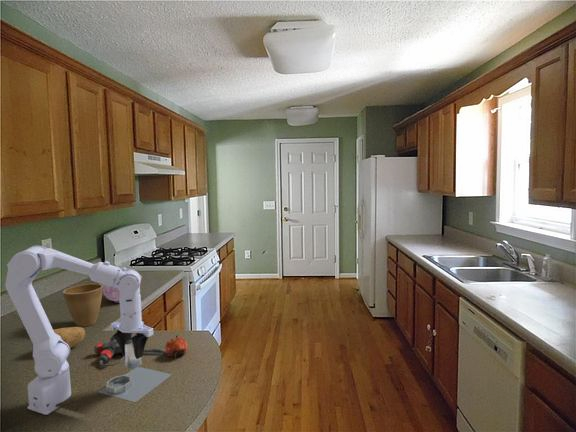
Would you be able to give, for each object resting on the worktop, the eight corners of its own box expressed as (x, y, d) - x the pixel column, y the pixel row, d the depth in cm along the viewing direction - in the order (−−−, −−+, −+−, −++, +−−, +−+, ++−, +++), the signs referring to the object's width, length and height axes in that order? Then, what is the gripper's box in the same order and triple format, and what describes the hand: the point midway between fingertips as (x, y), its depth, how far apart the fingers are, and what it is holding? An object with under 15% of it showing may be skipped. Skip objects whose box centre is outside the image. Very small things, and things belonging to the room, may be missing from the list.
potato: (85, 350, 129) (83, 329, 128) (39, 359, 123) (37, 337, 123) (87, 339, 138) (86, 320, 137) (44, 347, 132) (43, 326, 131)
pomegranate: (188, 366, 121) (192, 339, 129) (181, 356, 116) (185, 329, 124) (166, 368, 122) (172, 341, 129) (159, 359, 117) (165, 331, 124)
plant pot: (107, 315, 164) (105, 282, 162) (101, 327, 150) (99, 291, 148) (71, 319, 159) (68, 285, 158) (61, 332, 145) (58, 295, 143)
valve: (78, 373, 117) (104, 346, 132) (153, 379, 116) (171, 351, 130) (75, 357, 116) (102, 331, 130) (151, 362, 114) (170, 336, 128)
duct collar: (118, 396, 99) (118, 390, 99) (101, 391, 102) (100, 385, 102) (137, 383, 106) (136, 377, 105) (120, 378, 108) (119, 373, 108)
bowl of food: (92, 305, 178) (90, 283, 177) (117, 293, 197) (116, 273, 196) (127, 307, 174) (126, 284, 173) (150, 294, 194) (149, 274, 193)
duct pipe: (133, 369, 102) (132, 346, 102) (122, 366, 104) (121, 343, 103) (145, 362, 107) (144, 339, 106) (134, 359, 108) (133, 337, 108)
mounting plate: (135, 405, 96) (135, 402, 96) (98, 395, 102) (97, 391, 101) (172, 377, 110) (171, 374, 110) (137, 369, 115) (137, 366, 115)
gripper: (159, 310, 105) (161, 353, 106) (122, 304, 110) (125, 346, 111) (142, 318, 98) (144, 365, 99) (103, 312, 103) (106, 356, 105)
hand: (132, 355), depth 105 cm, fingers closed on duct pipe, 4 cm apart
